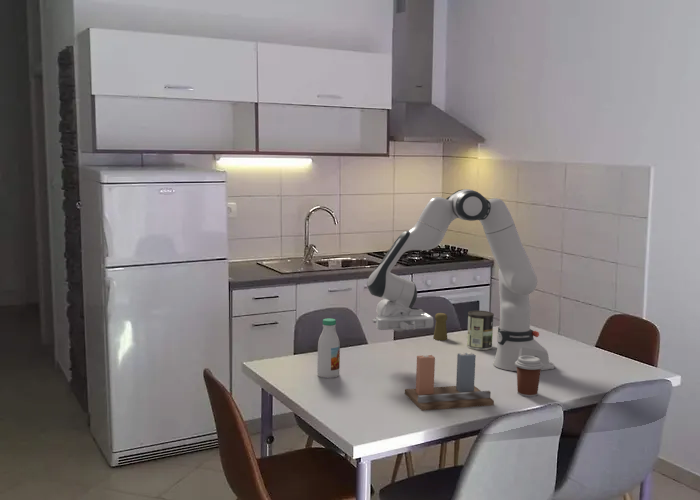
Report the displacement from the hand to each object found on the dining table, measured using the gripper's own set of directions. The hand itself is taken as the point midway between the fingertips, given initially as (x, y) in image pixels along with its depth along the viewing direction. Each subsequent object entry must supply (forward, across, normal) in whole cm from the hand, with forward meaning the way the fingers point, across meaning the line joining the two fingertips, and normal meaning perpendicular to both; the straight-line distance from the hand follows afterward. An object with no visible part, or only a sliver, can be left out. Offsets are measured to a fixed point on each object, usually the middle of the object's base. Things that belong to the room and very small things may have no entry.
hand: (411, 327), depth 247 cm
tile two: (+14, +14, +18) cm, 27 cm away
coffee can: (-40, +44, +20) cm, 63 cm away
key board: (+17, +7, +20) cm, 27 cm away
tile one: (+14, 0, +18) cm, 23 cm away
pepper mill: (-55, +33, +20) cm, 67 cm away
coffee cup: (+17, +35, +20) cm, 44 cm away
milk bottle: (-15, -25, +20) cm, 35 cm away
